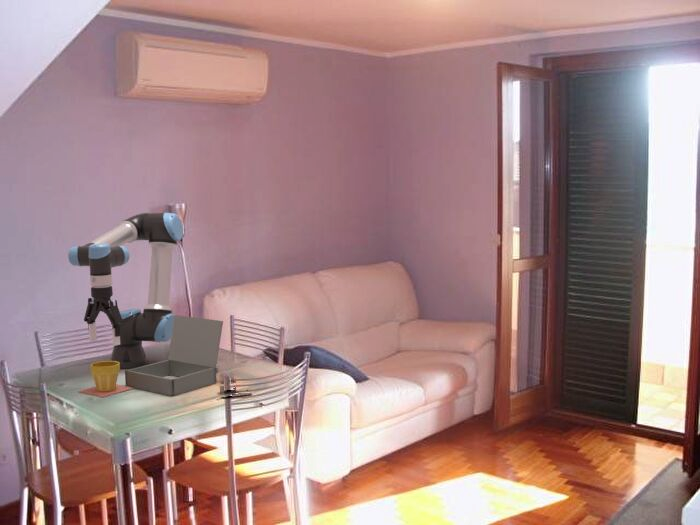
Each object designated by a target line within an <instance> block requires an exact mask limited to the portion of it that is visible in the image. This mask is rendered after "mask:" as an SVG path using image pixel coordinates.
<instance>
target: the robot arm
mask: <svg viewBox="0 0 700 525" xmlns="http://www.w3.org/2000/svg"><path fill="white" fill-rule="evenodd" d="M183 236H184V225H183V222H182V219H181V218H180V216H179V215H177V213H173V212H172V213H171V212H143V213H142V212H141V213H138V214H136V215H132V216H130V217H128V218H126V219H124V220H122V221H120V222H119V223H118V224H117V226H116V227H115V228H113V229H111V230H109V231H107V232H106V233H104V234H102V235H101V236H98V237H97V238H96V239H95V238H94V239H93V240H92V241H90V242H88V243H86V244H83V245H82V246H80V245H78V246H77V245H76V246H73V247H70V249H69V250H68V255H67V257H68V262H69V263H70V265H71V266H77V267H89V276H90V286H91V288H90V296H91V297H88V298H87V306H86V309H85V310H86V311H85V314H84V317H83V321H84V322H86V323H87V325H88V326H87V327H88V334H89V337H88V338H89V342H95V341H98V336H97V335H98V334H97V323H96V320H97V318H98V316H99V314H100V312H102V313H104V314H105V315H106V316H107V318H108V320H109V321H110V324H111V326H112V328H111V333H112V334H111V335H112V337H111V338H112V346H113V348H112V351H111V357H110V359H109V361H117V362H119V363H120V370H121V369H124V370H125V369H133V368H137V367H141V366H145V365H148V357H147V355H146V353H145V350H144V347H143V342H151V343H152V342H156V343H164V342H166V343H167V342H169V341H171V336H172V330H173V324H174V318H175V315H176V314H173V310H172V308H171V306H170V293H171V290H170V289H171V280H172V278H171V277H172V276H171V275H172V266H173V265H172V264H173V252H174V251H173V250H174V249H175V248H176V247H177V246H178V242H179V241H181V240H182V239H183ZM136 241H148V245H149V246H150V248H151V255H150V268H149V269H150V270H149V282H148V292H147V293H148V296H147V305H146V306H145V307H143V312H142V311H141V308H140V309H139V308H132V309H124V310H120V308H119V306H118V301H117V299H114V300H112V299H111V297H112V296H113V293H114V292H113V286H112V285H113V276H112V268H116V267H121V266H124V265H126V264H127V263H128V262H129V261H130V257H131V256H130V255H131V254H130V251H129V250H128V248H127V247H126V246H124V245H126V244H131V243H133V242H136Z"/></svg>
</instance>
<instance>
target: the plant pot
mask: <svg viewBox="0 0 700 525" xmlns="http://www.w3.org/2000/svg"><path fill="white" fill-rule="evenodd" d="M89 368H90V374H91V375H92V377H93V380H94V384H95V387H96V389H97V391H101V392H106V391H112V390H114V389H115V388H116V384H117V382H118V375H119V373H120V370H121V368H120V363H119V362H117V361H110V360H101V361H97V362H96V361H95V362H93V363H91V364H90V367H89Z"/></svg>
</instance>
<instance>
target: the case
mask: <svg viewBox="0 0 700 525" xmlns="http://www.w3.org/2000/svg"><path fill="white" fill-rule="evenodd" d="M174 315H175V318H174V324H173V330H172V336H171V339H170V342H169V343H170V344H169V350H168V356H167V359H166V360H162V361H158V362H157V361H156V362H153V363H150V364H146V365H144V366H140V367H135V368H128V369H126V370H125V369H124V370H125V371H124V373H125V374H124V375H125V376H124V380H125V386H127V387H132V388H134V389H136V390H142V391H146V392H151V393H156V394H160V395H163V396H164V395H165V396H169V397H175V396H178V395H182V394H185V393H188V392H192V391H194V390H195V391H196V390H198V389H202V388H205V387H208V386H212V385H215V384H217V369H218V368H217V366H218V365H217V363H218V357H219V351H220V345H221V340H222V339H221V337H222V331H223V324H224V321H223V320H218V319H210V318H208V319H207V318H201V317H195V316H187V315H178V314H174ZM167 376H174V377H175V378H169V377H167Z"/></svg>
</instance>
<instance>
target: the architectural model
mask: <svg viewBox="0 0 700 525" xmlns="http://www.w3.org/2000/svg"><path fill="white" fill-rule="evenodd" d="M225 373H228V374H229V376H230V378H231V384H234V383H237V380H236V378H235V371H226V372H219V374H218V375H219V376H218V377H219V383H218V382H217V383H216V386H217V387H218V388H219V393H222V392H223V393H225V392H224V374H225ZM234 387H235V386H234ZM233 389H235V390H236V391H237V386H236V387H235V388H233ZM235 390H234V391H235ZM249 392H250V393H238V394H233V393H231V394H232V397H238V396H248V395H252V394H253V393H252V392H251V391H249ZM222 398H223V399H224V398H225V397H224V396H221V397H220V399H222Z"/></svg>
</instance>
